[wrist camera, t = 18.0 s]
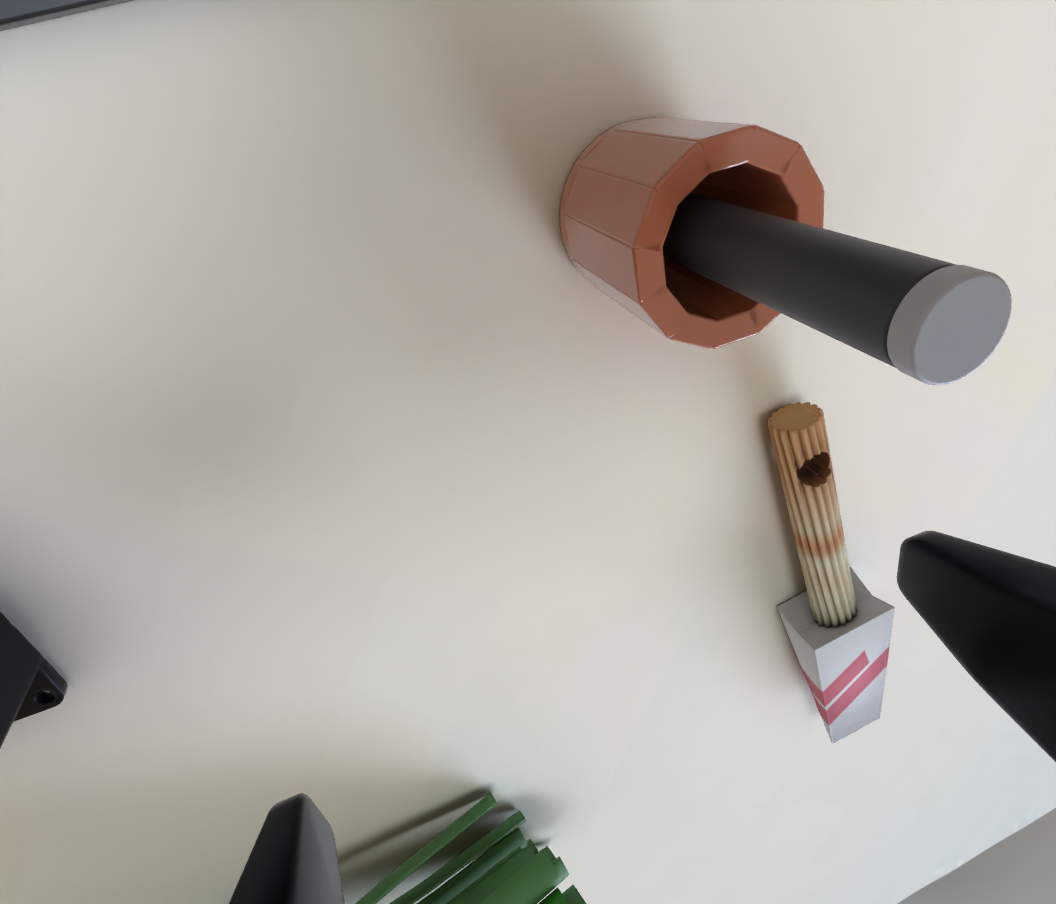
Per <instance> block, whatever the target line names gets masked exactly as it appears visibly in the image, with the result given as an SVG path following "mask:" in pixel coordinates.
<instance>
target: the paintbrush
mask: <svg viewBox="0 0 1056 904" xmlns="http://www.w3.org/2000/svg"><path fill="white" fill-rule="evenodd" d="M768 426H769V427H768V428H769V432H770V436H771V440H772V444H773V448H774V452H775V456H776V460H777V465H778V469H779V473H780V478H781V482H782V486H783V491H784V495H785V499H786V503H787V508H788V512H789V516H790V521H791V525H792V529H793V534H794V538H795V542H796V547H797V551H798V555H799V559H800V563H801V567H802V571H803V575H804V579H805V583H806V588H807V591H805V592H803V593H801V594H799V595H797V596H796V597H794V598H792V599H790V600H788V601H786V602H784V603H783V604H781V605H779V606H777V608H778V611H779V613H780V616H781V618H782V621H783V623H784V626H785V628H786V631H787V633H788V636H789V638H790V641H791V643H792V645H793V648H794V650H795V653H796V655H797V658H798V660H799V663H800V665H801V668H802V670H803V673H804V675H805V678H806V680H807V683H808V685H809V687H810V690H811V692H812V695H813V697H814V700H815V702H816V705H817V707H818V710H819V712H820V715H821V717H822V720H823V722H824V725H825V727H826V729H827V732H828V734H829V737H830V739H831V742H832V744H833V743H835V742H836V741H838V740H840V739H842V738H844V737H845V736H847V735H849V734H851V733H853V732H855V731H856V730H858V729H860V728H862V727H864V726H866V725H867V724H869V723H871V722H873V721H875V720H876V719H878V718H880V711H881V704H882V697H883V690H884V682H885V675H886V668H887V661H888V653H889V646H890V639H891V632H892V624H893V617H894V610H895V607H893V606H891V605H889V604H888V603H886V602H884V601H882V600H880V599H878V598H876V597H874V596H872V595H871V593H870V592H869V591H868V589H867V588H866V587H865V586H864V584H863V583H862V582H861V580H860V579H859V578H858V576H857V575H856V574H855V572H854V571H853V570H852V568H851V567H850V568H849V563H848V558H847V552H846V546H845V540H844V534H843V528H842V522H841V516H840V510H839V504H838V498H837V492H836V486H835V480H834V474H833V468H832V462H831V456H830V450H829V444H828V438H827V432H826V426H825V421H824V414H823V410H822V409H821V408H818V406H817V405H815V404H813V405H810V403H809V402H806V403H804V404H801V403H800V402H798V403H795V404H794V405H792V404H788V405H786V406H785V407H782V408H779V410H778V411H776V412H773V413H772V415H771V417H770V418H769V419H768Z"/></svg>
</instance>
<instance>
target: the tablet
mask: <svg viewBox="0 0 1056 904" xmlns="http://www.w3.org/2000/svg"><path fill="white" fill-rule="evenodd" d="M127 1H132V0H0V31H1V30H6V29H10V28H14V27H19V26H23V25H27V24H32V23H36V22H40V21H45V20H49V19H54V18H58V17H62V16H67V15H71V14H75V13H80V12H84V11H88V10H93V9H97V8H101V7H106V6H110V5H114V4H119V3H123V2H127Z"/></svg>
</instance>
